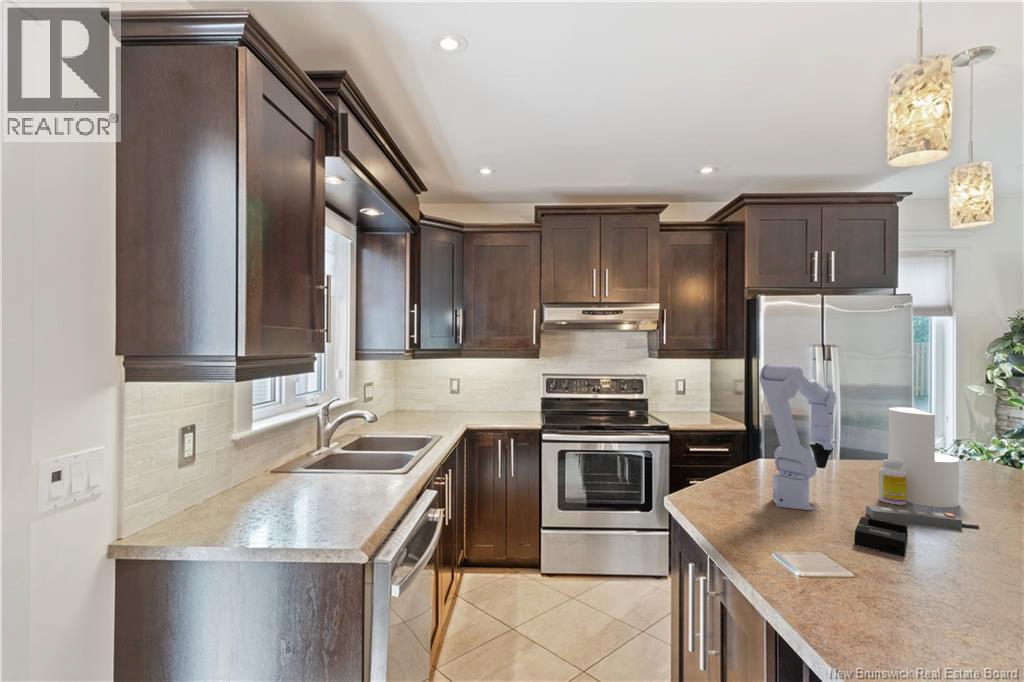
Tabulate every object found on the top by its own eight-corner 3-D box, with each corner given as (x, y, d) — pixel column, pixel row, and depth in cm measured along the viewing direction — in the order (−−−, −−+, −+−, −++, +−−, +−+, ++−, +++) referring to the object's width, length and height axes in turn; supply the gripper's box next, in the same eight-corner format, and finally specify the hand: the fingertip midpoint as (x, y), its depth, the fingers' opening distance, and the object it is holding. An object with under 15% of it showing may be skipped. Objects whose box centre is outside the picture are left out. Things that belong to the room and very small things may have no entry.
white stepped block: (899, 502, 147) (900, 413, 147) (880, 487, 163) (880, 406, 163) (970, 510, 141) (971, 417, 141) (943, 493, 157) (944, 409, 157)
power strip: (873, 519, 133) (873, 509, 133) (865, 513, 138) (866, 503, 138) (985, 531, 125) (985, 520, 125) (973, 525, 130) (973, 514, 130)
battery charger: (904, 558, 110) (905, 541, 110) (854, 546, 116) (854, 530, 116) (907, 541, 119) (907, 525, 119) (860, 531, 126) (860, 516, 126)
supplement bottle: (911, 506, 144) (911, 464, 144) (886, 504, 145) (886, 463, 145) (897, 499, 151) (898, 459, 151) (874, 497, 152) (874, 457, 152)
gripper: (843, 430, 144) (843, 474, 144) (828, 422, 158) (828, 463, 158) (817, 428, 146) (816, 472, 146) (804, 421, 160) (803, 461, 160)
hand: (820, 467), depth 152 cm, fingers closed
